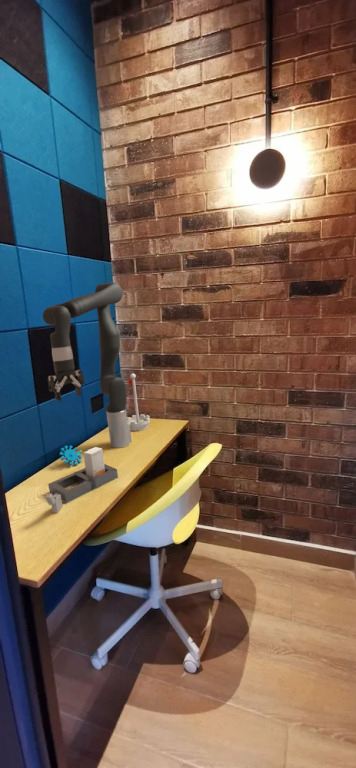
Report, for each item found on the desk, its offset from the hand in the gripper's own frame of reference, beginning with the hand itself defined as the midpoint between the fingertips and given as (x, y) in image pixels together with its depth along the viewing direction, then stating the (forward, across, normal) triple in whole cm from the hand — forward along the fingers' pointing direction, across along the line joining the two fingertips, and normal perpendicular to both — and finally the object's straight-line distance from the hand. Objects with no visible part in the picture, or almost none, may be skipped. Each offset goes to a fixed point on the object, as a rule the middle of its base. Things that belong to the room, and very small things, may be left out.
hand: (69, 398), depth 140 cm
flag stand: (+30, -47, -17) cm, 58 cm away
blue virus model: (+30, -1, -7) cm, 31 cm away
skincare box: (+30, +2, +15) cm, 34 cm away
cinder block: (+30, +7, +15) cm, 34 cm away
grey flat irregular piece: (+30, +23, +23) cm, 44 cm away
